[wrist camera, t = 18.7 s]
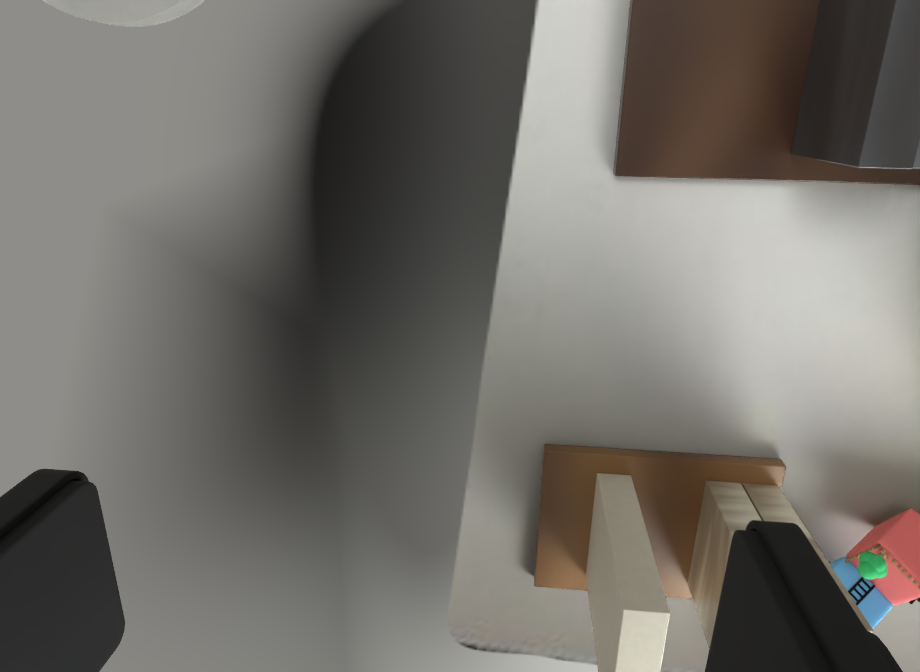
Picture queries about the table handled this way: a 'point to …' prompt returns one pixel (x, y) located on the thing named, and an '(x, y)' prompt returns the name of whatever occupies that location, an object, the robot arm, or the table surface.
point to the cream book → (624, 582)
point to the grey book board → (772, 91)
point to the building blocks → (884, 566)
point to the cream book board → (662, 516)
